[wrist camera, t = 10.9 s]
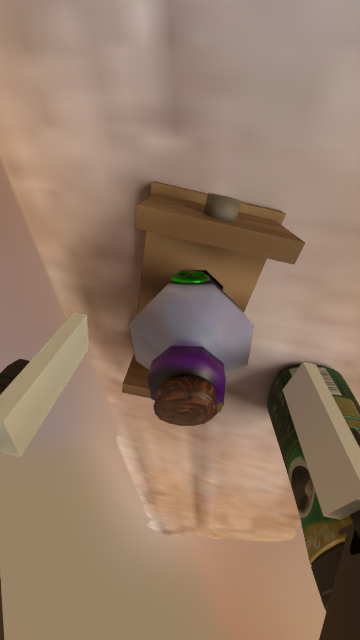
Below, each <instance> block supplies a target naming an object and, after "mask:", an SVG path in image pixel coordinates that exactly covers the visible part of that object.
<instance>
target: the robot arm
mask: <svg viewBox="0 0 360 640" xmlns="http://www.w3.org/2000/svg"><path fill="white" fill-rule="evenodd" d="M88 350H89V341H88V325H87V315H85V314H81V313H76V312H74V313H73V314H72V315H71V316H70V317H69V318H68V319H67V320H66V322H65V323H64V324H63V325H62V326H61V327H60V328H59V329H58V331H57V332H56V333H55V334H54V335H53V336H52V337H51V338H50V340H49V341H48V342H47V343H46V344H45V345H44V347H43V348H42V349H41V350H40V351H39V352H38V353H37V354H36V355H35V356H34V358H33V359H32V360H31V361H27V360H23V359H19V360H17V361H15V362H13V363H12V364H10V365H8V366H7V367H6V368H5V369H4V370H3V371H2V372H1V373H0V450H1V452H2V453H3V454H9V455H14V456H19V457H21V455H22V454H23V452H24V450H25V449H26V447H27V446H28V444H29V443H30V441H31V440H32V438H33V436H34V435H35V433H36V432H37V430H38V428H39V427H40V425H41V424H42V422H43V420H44V419H45V417H46V416H47V414H48V413H49V411H50V410H51V408H52V406H53V405H54V403H55V401H56V400H57V398H58V397H59V395H60V394H61V392H62V391H63V389H64V387H65V386H66V384H67V383H68V381H69V380H70V378H71V376H72V375H73V373H74V372H75V370H76V369H77V367H78V365H79V364H80V362H81V361H82V359H83V357H84V356H85V354H86V353H87V351H88ZM283 393H284V396H285V399H286V402H287V405H288V408H289V411H290V414H291V417H292V420H293V424H294V427H295V430H296V433H297V436H298V439H299V442H300V445H301V448H302V451H303V454H304V457H305V461H306V464H307V467H308V470H309V473H310V476H311V479H312V482H313V485H314V488H315V491H316V494H317V497H318V501H319V504H320V507H321V510H322V513H323V516H324V517H329V518H334V519H339V520H341V519H343V518H345V517H348V516H350V517H351V520H352V522H353V524H351V525H348V526H346V527H344V528H341V529H340V530H339V532H338V533H339V534H340V535H342V534H345V533H347V536H346V538H345V544H344V547H343V551H342V555H341V559H340V563H339V566H338V570H337V574H336V578H335V582H334V585H333V589H332V593H331V597H330V601H329V605H328V608H327V612H326V616H325V620H324V624H323V628H322V631H321V635H320V639H319V640H360V434H359V433H358V432H357V430H356V429H355V428H351V427H348V425H347V423H346V421H345V419H344V417H343V415H342V413H341V411H340V410H339V408H338V406H337V404H336V402H335V400H334V398H333V396H332V394H331V392H330V391H329V389H328V387H327V385H326V383H325V381H324V379H323V377H322V375H321V374H320V372H319V370H318V368H317V366H316V364H312V363H307V362H303V363H302V364H301V365H300V367H299V368H298V370H297V371H296V372H295V374H294V375H293V376H292V378H291V379H290V380H289V382H288V383H287V384H286V386H285V387H284V389H283ZM0 640H4V630H3V613H2V597H1V580H0Z"/></svg>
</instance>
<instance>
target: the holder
mask: <svg viewBox="0 0 360 640" xmlns="http://www.w3.org/2000/svg"><path fill="white" fill-rule="evenodd" d="M284 217H285V213H284V212H282V211H279V210H274V209H270V208H266V207H262V206H257V205H253V204H249V203H244V202H241V201H239V200H236V199H233V198H230V197H226V196H221V195H217V194H210V193H208V194H206V193H202V192H197V191H193V190H189V189H185V188H180V187H176V186H172V185H168V184H163V183H159V182H155V181H154V182H151V190H150V197H149V198H147V199H145V200H143V201H142V202H140V203H138V204H137V206H136V219H135V228H136V229H140V230H144V231H146V238H145V247H144V257H143V266H142V276H141V285H140V295H139V304H138V314H139V313H140V312H141V311H142V310H143V309H144V308H145V307H146V306H147V305H148V304H149V303H150V302H151V301H152V300H153V299H154V298H155V297H156V296H157V295H158V294H159V293H160V292H161V291H162V290H163V289H164V288H165V286H166V285H167V284H168V283H169V282H170V279H171V277H172V276H173V275H174V274H176V273H177V272H180V271H181V270H207V271H208V272H209V273H210V274H211V275H212V276H213V277H214V278H215V279H216V280H217V281H218V282H219V283H220V284H221V285H222V286H223V292H224V293H225V294H227V295H228V296H229V297H230V298H231V299H232V300H233V301H234V302H235V303H236V304H237V305H238V306H239V307H240V309H241V310H242V311H243V313H244V311H245V309H246V306H247V304H248V301H249V299H250V297H251V294H252V292H253V290H254V287H255V285H256V283H257V280H258V278H259V276H260V273H261V271H262V269H263V266H264V264H265V261H266V259H267V258H268V259H272V260H277V261H281V262H286V263H290V264H295V262H296V260H297V258H298V256H299V254H300V252H301V250H302V248H303V246H304V244H305V242H303V241H302V240H301V239H299V238H298V237H297V236H295V235H294V234H293V233H291V232H290V231H289V230H287V229H286V228H285V227H283V226H282V225H281V224H282V221H283V219H284ZM138 314H137V315H138ZM148 374H149V369H147V368H146V367H144V366H143V365H141V364H140V363H138V362H137V361H136V358H135V353H134V355H133V358H132V361H131V363H130V366H129V369H128V371H127V374H126V376H125V379H124V382H123V387H122V392H123V393H128V394H133V395H138V396H143V397H148V398H151V395H150V389H149V384H148V378H147V377H148ZM223 405H224V402H222V403H220V404H218V405H217V412H220V411H221V409H222V407H223Z"/></svg>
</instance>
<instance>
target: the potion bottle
mask: <svg viewBox="0 0 360 640" xmlns="http://www.w3.org/2000/svg"><path fill="white" fill-rule="evenodd" d="M253 328H254V326H253V324H252V323H251V322H250V320H249V319H248V318H247V317H246V315H245V314H244V313H243V311H242V310H241V309H240V307H239V306H238V305H237V304H236V303H235V302H234V301H233V300H232V299H231V298H230V297H229V296H228V295H227V294H225V293H224V292H223V286H222V285H221V284H220V283H219V282H218V281H217V280H216V279H215V278H214V277H213V276H212V275H211V274H210V273H209V272H208V271H207V270H181V271H180V272H177V273H176V274H174V275H173V276H172V277H171V279H170V282H169V283H168V284H167V285H166V286H165V288H164V289H163V290H162V291H161V292H160V293H159V294H158V295H157V296H156V297H155V298H154V299H153V300H152V301H151V302H150V303H149V304H148V305H147V306H146V307H145V308H144V309H143V310H142V311H141V312H140V313H139V314H138V315H137V316H136V317H135V318H134V319H133V320H132V321H131V322H130V323H129V329H130V334H131V338H132V343H133V348H134V353H135V358H136V361H137V362H138V363H140V364H141V365H143V366H144V367H146V368H147V369H149V374H148V377H147V378H148V384H149V389H150V395H151V398H152V399H153V400H155V404H154V411H155V414H156V415H157V416H158V417H159V419H160V420H163V421H165V422H167V423H170V424H175V425H180V426H193V425H199V424H204V423H205V422H207V421H209V420H211V419H212V418H213V417H214V416H215V415H216V414H217V413H218V412H217V405H218V404H220V403H222V402H224V391H225V381H226V380H225V378H226V377H227V376H229V375H231V374H232V373H234V372H236V371H237V370H239V369H241V368H242V367H244V366H246V365H247V364H248V358H249V352H250V346H251V340H252V334H253Z"/></svg>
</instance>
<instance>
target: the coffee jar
mask: <svg viewBox="0 0 360 640" xmlns="http://www.w3.org/2000/svg"><path fill="white" fill-rule="evenodd" d="M299 367H300V366H295V367H291V368H288V369H286V370H283V371H282V372H281V373H280V374H279V375H278V376H277V378H276V380H275V382H274V384H273V386H272V388H271V391H270V394H269V398H268V405H267V408H268V412H269V415H270V418H271V422H272V425H273V428H274V431H275V434H276V437H277V441H278V444H279V447H280V450H281V453H282V457H283V460H284V463H285V467H286V470H287V473H288V477H289V480H290V483H291V487H292V490H293V493H294V497H295V500H296V504H297V508H298V512H299V515H300V520H301V524H302V528H303V533H304V537H305V542H306V547H307V551H308V556H309V560H310V564H311V565H312V567H311V568H312V571H313V574H314V578H315V580H316V584H317V587H318V590H319V593H320V596H321V599H322V602H323V605H324V608H325V609H326V612H327V608H328V605H329V601H330V597H331V593H332V589H333V585H334V582H335V578H336V574H337V570H338V566H339V563H340V559H341V555H342V551H343V547H344V544H345V538H346V536H347V533H345V534H342V535H340V534H339V533H338V532H339V530H340V529H341V528H344V527H346V526H348V525H351V524H353V522H352V520H351V517H350V516H348V517H345V518H343V519H341V520H339V519H334V518H329V517H324V516H323V513H322V510H321V507H320V504H319V501H318V497H317V494H316V491H315V488H314V485H313V482H312V479H311V476H310V473H309V470H308V467H307V464H306V461H305V457H304V454H303V451H302V448H301V445H300V442H299V439H298V436H297V433H296V430H295V427H294V424H293V420H292V417H291V414H290V411H289V408H288V405H287V402H286V399H285V396H284V393H283V389H284V387H285V386H286V384H287V383H288V382H289V380H290V379H291V378H292V376H293V375H294V374H295V372H296V371H297V370H298V368H299ZM317 368H318V370H319V372H320V374H321V375H322V377H323V379H324V381H325V383H326V385H327V387H328V389H329V391H330V392H331V394H332V396H333V398H334V400H335V402H336V404H337V406H338V408H339V410H340V411H341V413H342V415H343V417H344V419H345V421H346V423H347V425H348V427H351V428H355V429H356V430H357V432H358V433H359V434H360V406H359V404H358V402H357V400H356V399H355V397H354V395H353V393H352V392H351V390H350V388H349V387H348V385H347V383H346V382H345V380H344V378H343V377H342V375H341V374H340V373H339V372H337V371H335V370H333V369H330V368H327V367H322V366H317Z"/></svg>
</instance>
